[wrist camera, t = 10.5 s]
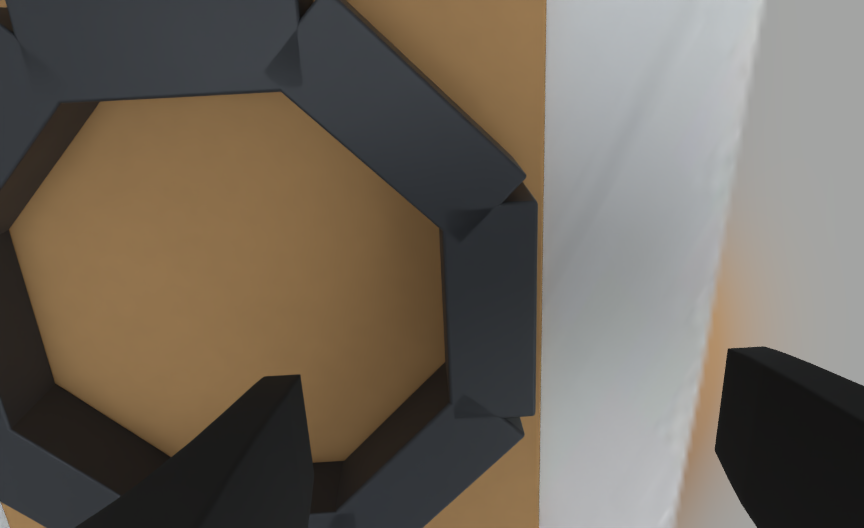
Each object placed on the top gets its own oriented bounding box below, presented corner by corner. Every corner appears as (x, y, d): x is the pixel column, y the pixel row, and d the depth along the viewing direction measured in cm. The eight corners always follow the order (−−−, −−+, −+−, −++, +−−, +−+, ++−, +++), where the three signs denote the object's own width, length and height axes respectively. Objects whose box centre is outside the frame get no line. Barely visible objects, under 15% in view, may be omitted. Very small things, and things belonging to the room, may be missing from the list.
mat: (535, 563, 19) (538, 573, 19) (45, 594, 19) (37, 605, 19) (544, -162, 13) (549, -168, 12) (-213, -125, 12) (-232, -131, 12)
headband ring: (521, 506, 18) (534, 562, 16) (30, 537, 18) (-14, 597, 16) (522, -29, 13) (541, -38, 11) (-157, 5, 13) (-252, 2, 11)
